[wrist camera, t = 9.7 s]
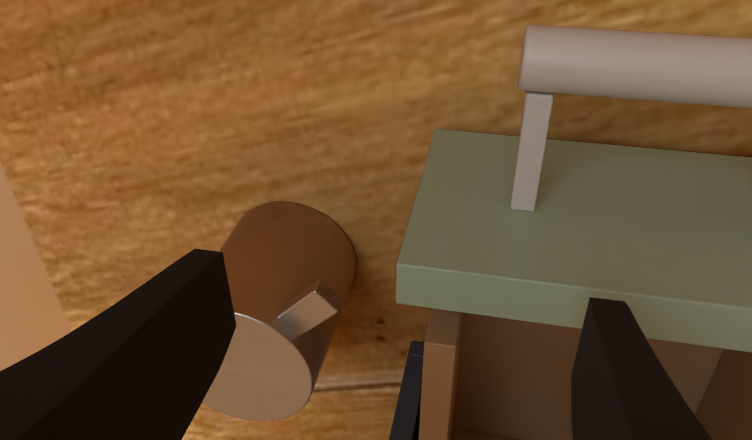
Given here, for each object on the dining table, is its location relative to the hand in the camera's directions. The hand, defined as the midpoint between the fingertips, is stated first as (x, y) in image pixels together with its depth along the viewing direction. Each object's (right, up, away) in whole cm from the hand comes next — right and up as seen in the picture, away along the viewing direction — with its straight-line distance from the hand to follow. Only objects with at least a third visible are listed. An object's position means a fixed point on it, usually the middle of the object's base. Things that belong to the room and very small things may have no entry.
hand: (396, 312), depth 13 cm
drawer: (+7, 0, +9) cm, 11 cm away
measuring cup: (-4, 0, +12) cm, 13 cm away
